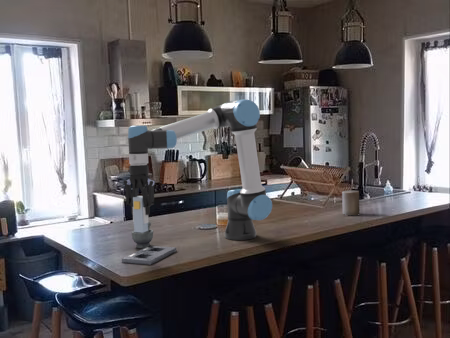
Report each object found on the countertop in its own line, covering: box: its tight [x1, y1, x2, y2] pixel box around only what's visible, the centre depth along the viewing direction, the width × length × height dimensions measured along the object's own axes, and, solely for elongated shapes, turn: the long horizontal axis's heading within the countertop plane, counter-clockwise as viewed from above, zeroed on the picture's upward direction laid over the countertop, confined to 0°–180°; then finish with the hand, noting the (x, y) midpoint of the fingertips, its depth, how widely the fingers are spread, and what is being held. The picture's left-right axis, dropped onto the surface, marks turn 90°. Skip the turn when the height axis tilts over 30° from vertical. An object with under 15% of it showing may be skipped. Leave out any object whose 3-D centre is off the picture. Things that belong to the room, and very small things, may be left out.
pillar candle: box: [341, 189, 361, 216], centre depth 282 cm, size 10×10×15 cm
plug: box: [133, 195, 148, 233], centre depth 194 cm, size 4×5×14 cm
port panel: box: [121, 245, 177, 266], centre depth 201 cm, size 22×13×2 cm, turn 158°
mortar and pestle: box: [131, 221, 154, 249], centre depth 219 cm, size 11×9×12 cm
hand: (140, 222), depth 194 cm, fingers closed on plug, 4 cm apart
